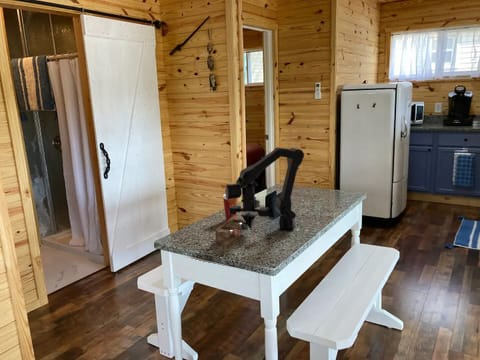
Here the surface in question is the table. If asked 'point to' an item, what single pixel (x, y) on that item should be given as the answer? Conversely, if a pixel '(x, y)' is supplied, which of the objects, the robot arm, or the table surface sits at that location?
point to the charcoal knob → (244, 226)
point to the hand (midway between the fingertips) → (250, 228)
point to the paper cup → (229, 206)
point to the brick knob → (235, 233)
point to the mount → (228, 231)
